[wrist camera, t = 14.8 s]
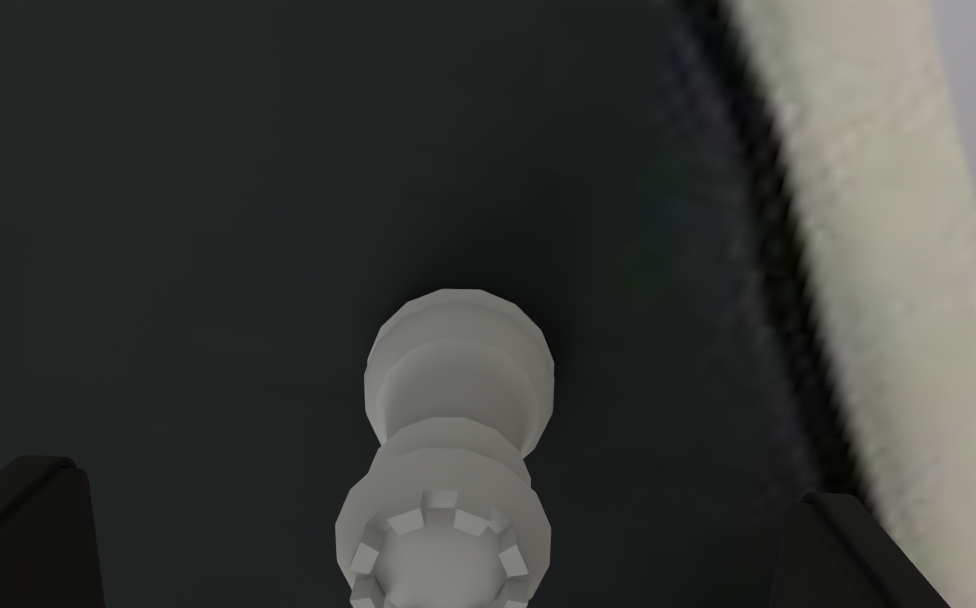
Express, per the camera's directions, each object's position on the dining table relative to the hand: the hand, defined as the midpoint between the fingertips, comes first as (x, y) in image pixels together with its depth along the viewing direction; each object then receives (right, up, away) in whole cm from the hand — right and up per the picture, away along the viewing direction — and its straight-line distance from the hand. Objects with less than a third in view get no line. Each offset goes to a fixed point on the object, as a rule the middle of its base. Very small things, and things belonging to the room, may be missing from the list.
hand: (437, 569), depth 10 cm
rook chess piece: (0, +2, +8) cm, 8 cm away
